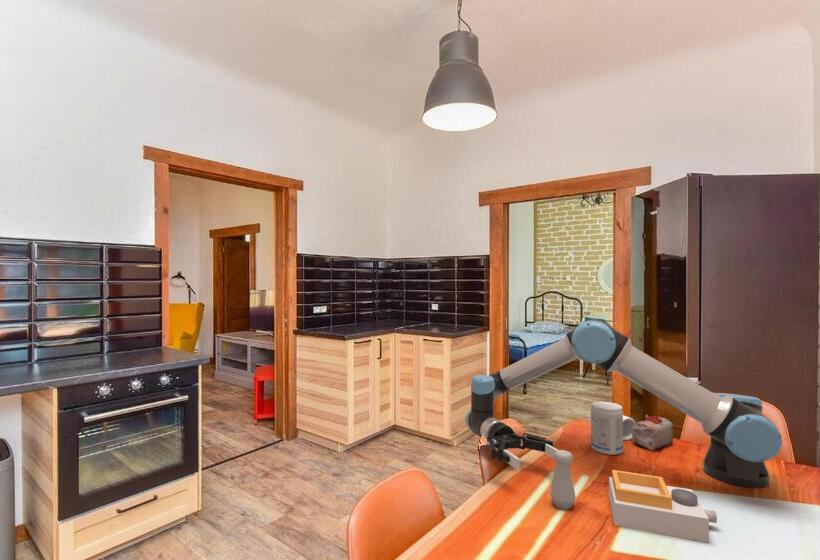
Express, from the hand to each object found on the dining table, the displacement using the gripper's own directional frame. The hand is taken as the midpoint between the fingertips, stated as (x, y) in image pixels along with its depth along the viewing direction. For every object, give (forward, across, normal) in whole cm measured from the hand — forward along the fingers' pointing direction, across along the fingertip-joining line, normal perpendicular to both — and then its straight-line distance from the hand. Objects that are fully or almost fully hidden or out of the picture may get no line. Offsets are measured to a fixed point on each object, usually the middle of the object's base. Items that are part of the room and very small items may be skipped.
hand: (540, 461), depth 114 cm
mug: (-26, -50, -8) cm, 56 cm away
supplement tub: (-16, -38, -8) cm, 42 cm away
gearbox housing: (+21, -18, -7) cm, 28 cm away
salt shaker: (+9, 0, -8) cm, 11 cm away
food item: (-15, -56, -8) cm, 59 cm away
